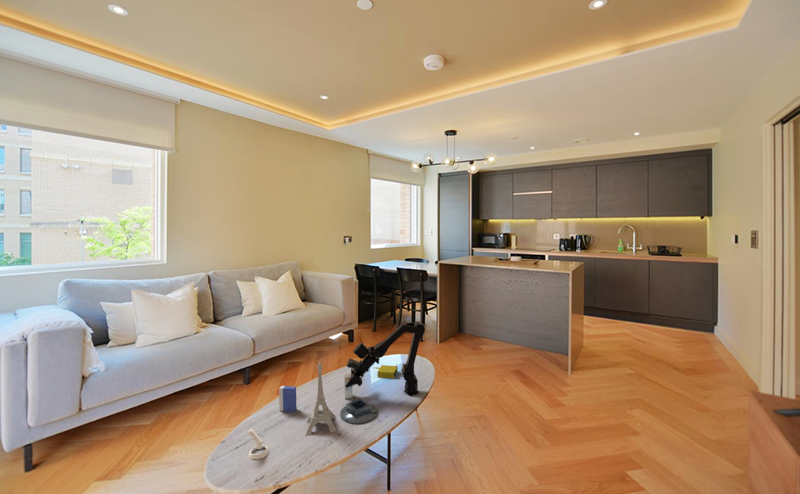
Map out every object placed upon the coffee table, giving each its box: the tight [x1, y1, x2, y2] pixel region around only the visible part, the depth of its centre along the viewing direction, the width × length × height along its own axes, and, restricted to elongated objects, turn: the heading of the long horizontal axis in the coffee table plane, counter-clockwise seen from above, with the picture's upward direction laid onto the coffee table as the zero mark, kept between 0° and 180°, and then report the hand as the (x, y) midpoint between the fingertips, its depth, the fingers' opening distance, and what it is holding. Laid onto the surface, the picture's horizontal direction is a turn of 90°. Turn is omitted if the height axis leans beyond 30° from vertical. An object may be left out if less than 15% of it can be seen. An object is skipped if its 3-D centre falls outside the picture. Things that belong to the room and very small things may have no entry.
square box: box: [344, 373, 354, 400], centre depth 182 cm, size 4×4×12 cm
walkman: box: [278, 385, 297, 413], centre depth 169 cm, size 8×3×12 cm, turn 81°
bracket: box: [373, 363, 399, 380], centre depth 211 cm, size 16×8×15 cm
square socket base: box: [339, 397, 378, 425], centre depth 165 cm, size 18×18×4 cm
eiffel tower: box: [304, 361, 337, 436], centre depth 155 cm, size 13×13×30 cm
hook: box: [247, 428, 270, 460], centre depth 136 cm, size 8×12×7 cm
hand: (346, 385), depth 181 cm, fingers closed on square box, 4 cm apart
